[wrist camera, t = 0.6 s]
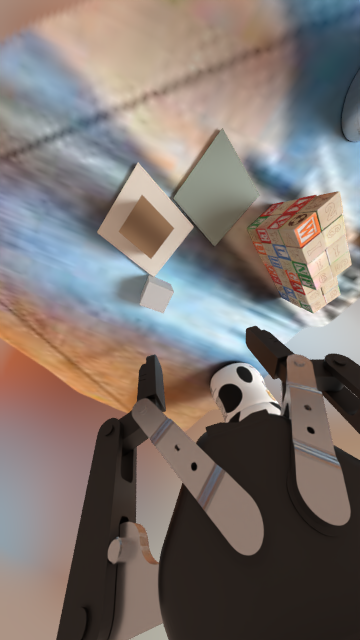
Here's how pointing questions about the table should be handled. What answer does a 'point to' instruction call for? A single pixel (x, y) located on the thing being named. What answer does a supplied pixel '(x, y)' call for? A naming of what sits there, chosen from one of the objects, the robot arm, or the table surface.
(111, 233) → the tile
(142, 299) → the grey block
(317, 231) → the stack of blocks
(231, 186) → the grey-green mat
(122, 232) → the walnut block
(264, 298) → the table surface
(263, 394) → the milk container
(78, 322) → the table surface
